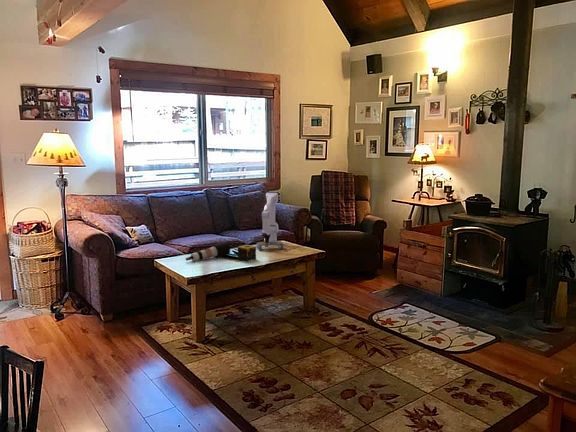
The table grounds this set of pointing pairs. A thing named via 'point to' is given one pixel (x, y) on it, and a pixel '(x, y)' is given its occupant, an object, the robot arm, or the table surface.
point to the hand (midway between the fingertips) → (266, 242)
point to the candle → (246, 253)
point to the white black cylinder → (211, 252)
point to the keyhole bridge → (260, 244)
